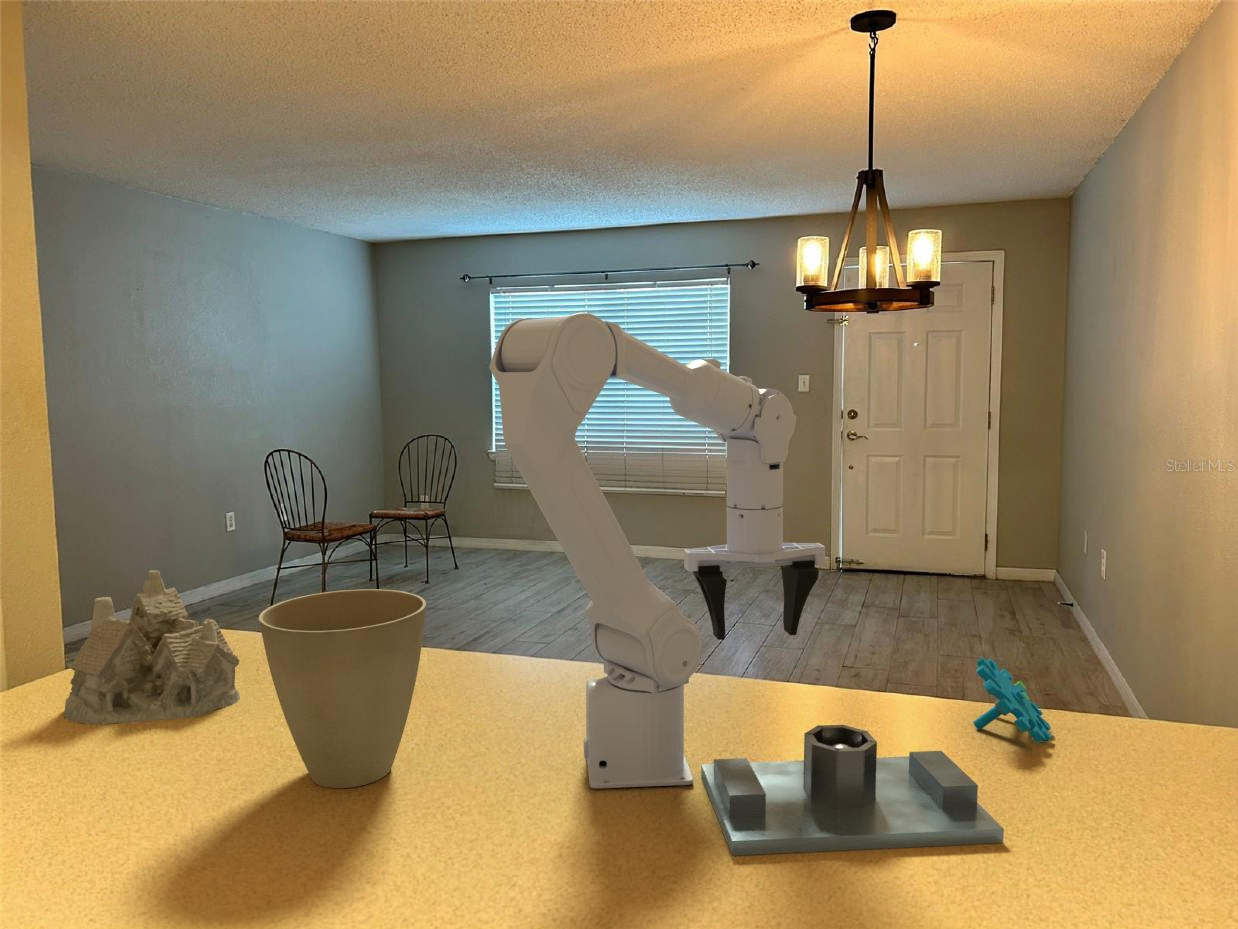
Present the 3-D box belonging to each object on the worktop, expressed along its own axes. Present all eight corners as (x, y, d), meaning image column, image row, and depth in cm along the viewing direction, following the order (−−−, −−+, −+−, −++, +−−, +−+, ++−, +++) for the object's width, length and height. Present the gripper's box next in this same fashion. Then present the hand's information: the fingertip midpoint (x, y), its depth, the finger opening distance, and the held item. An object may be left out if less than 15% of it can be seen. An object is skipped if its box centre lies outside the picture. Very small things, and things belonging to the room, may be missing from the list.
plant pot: (345, 731, 96) (340, 583, 94) (461, 756, 89) (457, 598, 88) (229, 789, 82) (221, 617, 81) (355, 824, 76) (349, 638, 74)
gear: (1049, 745, 87) (977, 659, 92) (1000, 778, 90) (932, 693, 94) (1065, 724, 97) (999, 647, 101) (1020, 754, 99) (957, 678, 103)
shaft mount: (732, 855, 71) (732, 786, 70) (701, 776, 85) (701, 718, 84) (1003, 843, 72) (1005, 775, 72) (929, 767, 86) (931, 711, 86)
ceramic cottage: (49, 707, 103) (49, 578, 101) (193, 675, 115) (196, 560, 114) (106, 752, 93) (107, 609, 91) (256, 712, 105) (260, 586, 104)
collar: (816, 809, 76) (817, 752, 75) (798, 779, 81) (799, 726, 81) (882, 807, 76) (884, 750, 75) (860, 777, 82) (861, 724, 81)
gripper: (694, 514, 88) (695, 650, 89) (837, 508, 90) (835, 641, 91) (679, 504, 95) (680, 630, 96) (811, 498, 97) (811, 622, 98)
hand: (754, 634), depth 94 cm, fingers open, 7 cm apart
